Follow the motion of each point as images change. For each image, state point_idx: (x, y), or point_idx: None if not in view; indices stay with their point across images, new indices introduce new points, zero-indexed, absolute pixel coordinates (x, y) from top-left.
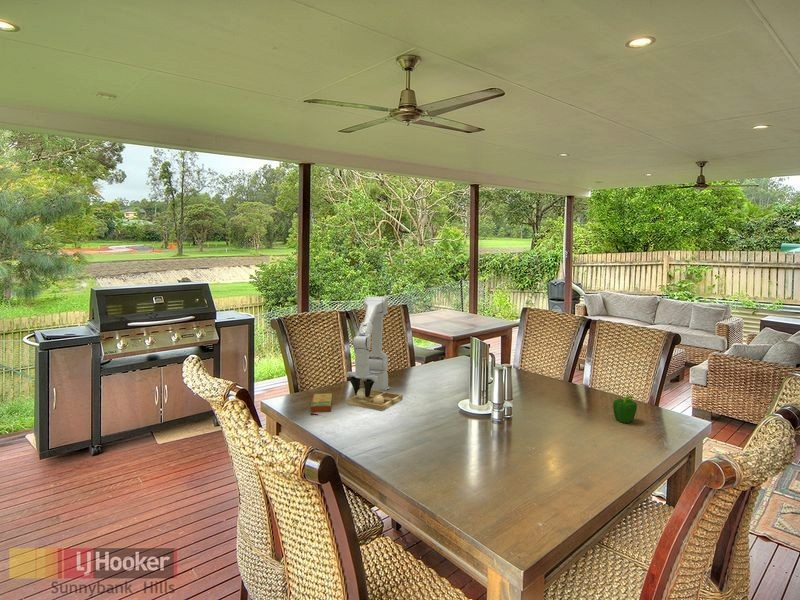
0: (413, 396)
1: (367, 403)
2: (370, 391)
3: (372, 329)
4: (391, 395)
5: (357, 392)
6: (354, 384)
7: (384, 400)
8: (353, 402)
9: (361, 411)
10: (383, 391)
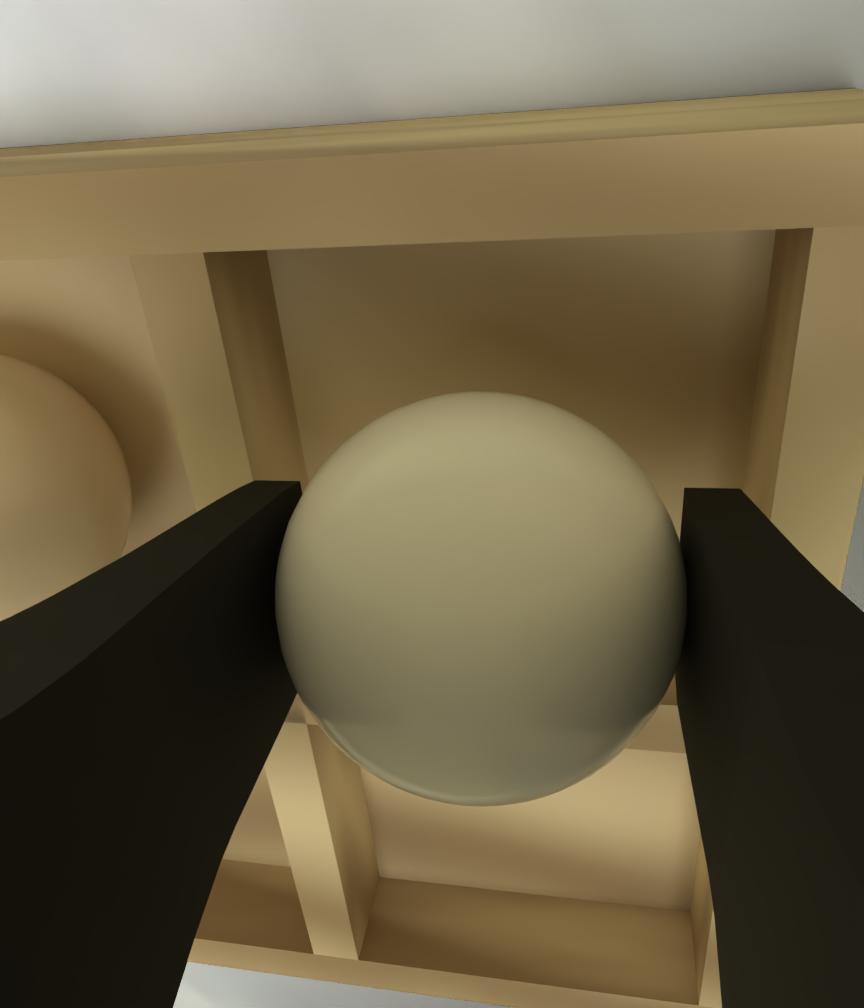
0: None
1: (36, 176)
2: (687, 969)
3: None
4: None
5: (594, 499)
6: (826, 767)
7: None
8: (617, 126)
9: (253, 6)
10: (391, 988)
